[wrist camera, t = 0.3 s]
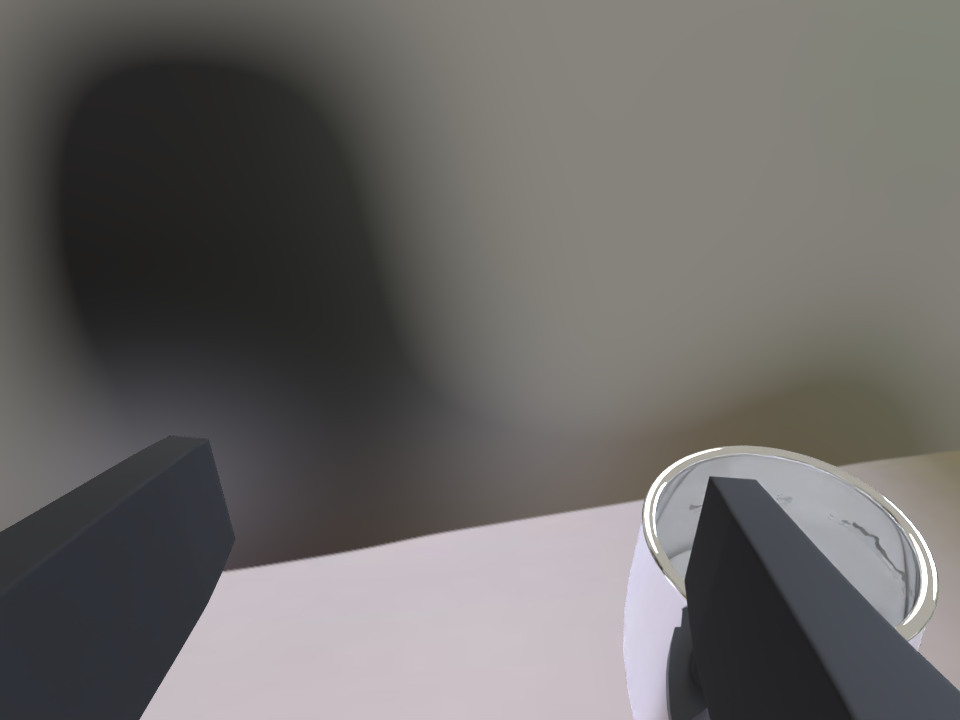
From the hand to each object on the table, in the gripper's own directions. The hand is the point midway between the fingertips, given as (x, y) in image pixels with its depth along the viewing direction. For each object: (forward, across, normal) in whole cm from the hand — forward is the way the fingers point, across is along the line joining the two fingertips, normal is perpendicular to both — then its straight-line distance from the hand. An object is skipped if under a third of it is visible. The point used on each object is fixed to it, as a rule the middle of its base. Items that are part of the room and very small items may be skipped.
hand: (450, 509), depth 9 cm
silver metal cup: (+6, -8, +20) cm, 22 cm away
